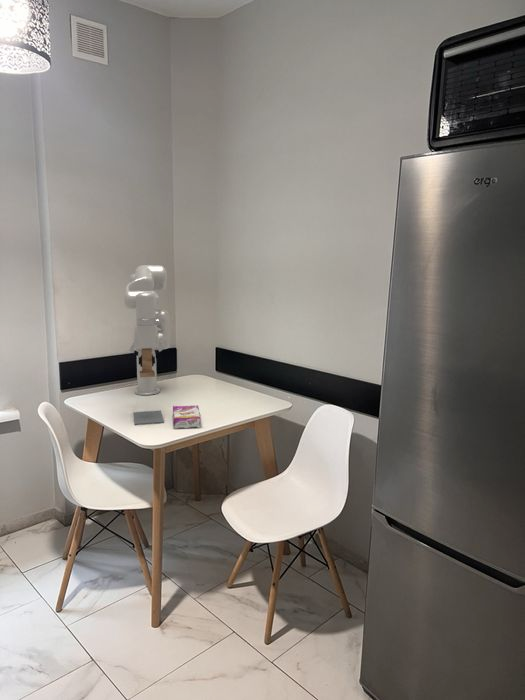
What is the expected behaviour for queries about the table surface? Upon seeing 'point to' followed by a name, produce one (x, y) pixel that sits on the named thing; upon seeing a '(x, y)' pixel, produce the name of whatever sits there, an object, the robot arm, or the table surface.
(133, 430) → the table surface
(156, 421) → the mat
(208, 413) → the table surface
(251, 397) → the table surface
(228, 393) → the table surface
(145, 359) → the stepped wooden block
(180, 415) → the candy bar box
